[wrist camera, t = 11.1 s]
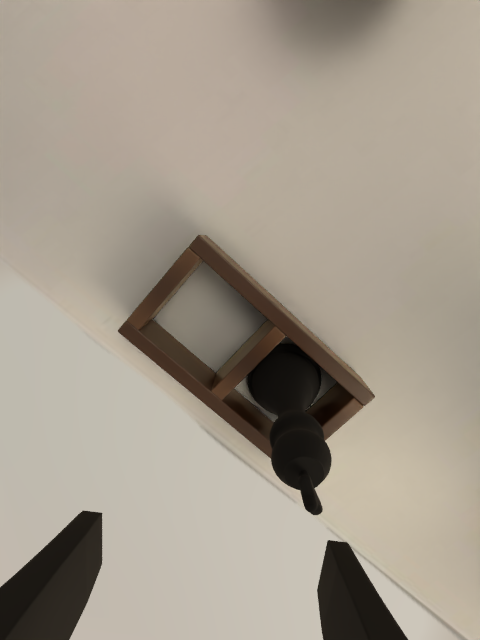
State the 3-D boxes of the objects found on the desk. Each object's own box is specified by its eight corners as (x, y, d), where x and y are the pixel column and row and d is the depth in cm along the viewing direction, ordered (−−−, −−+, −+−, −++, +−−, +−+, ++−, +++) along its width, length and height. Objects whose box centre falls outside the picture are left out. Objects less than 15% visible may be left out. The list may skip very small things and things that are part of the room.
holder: (284, 446, 21) (288, 473, 19) (134, 319, 19) (117, 331, 17) (361, 377, 20) (375, 397, 17) (206, 234, 18) (198, 234, 16)
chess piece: (306, 332, 19) (359, 429, 10) (330, 396, 20) (400, 545, 10) (236, 358, 20) (220, 474, 10) (262, 419, 21) (270, 579, 11)
